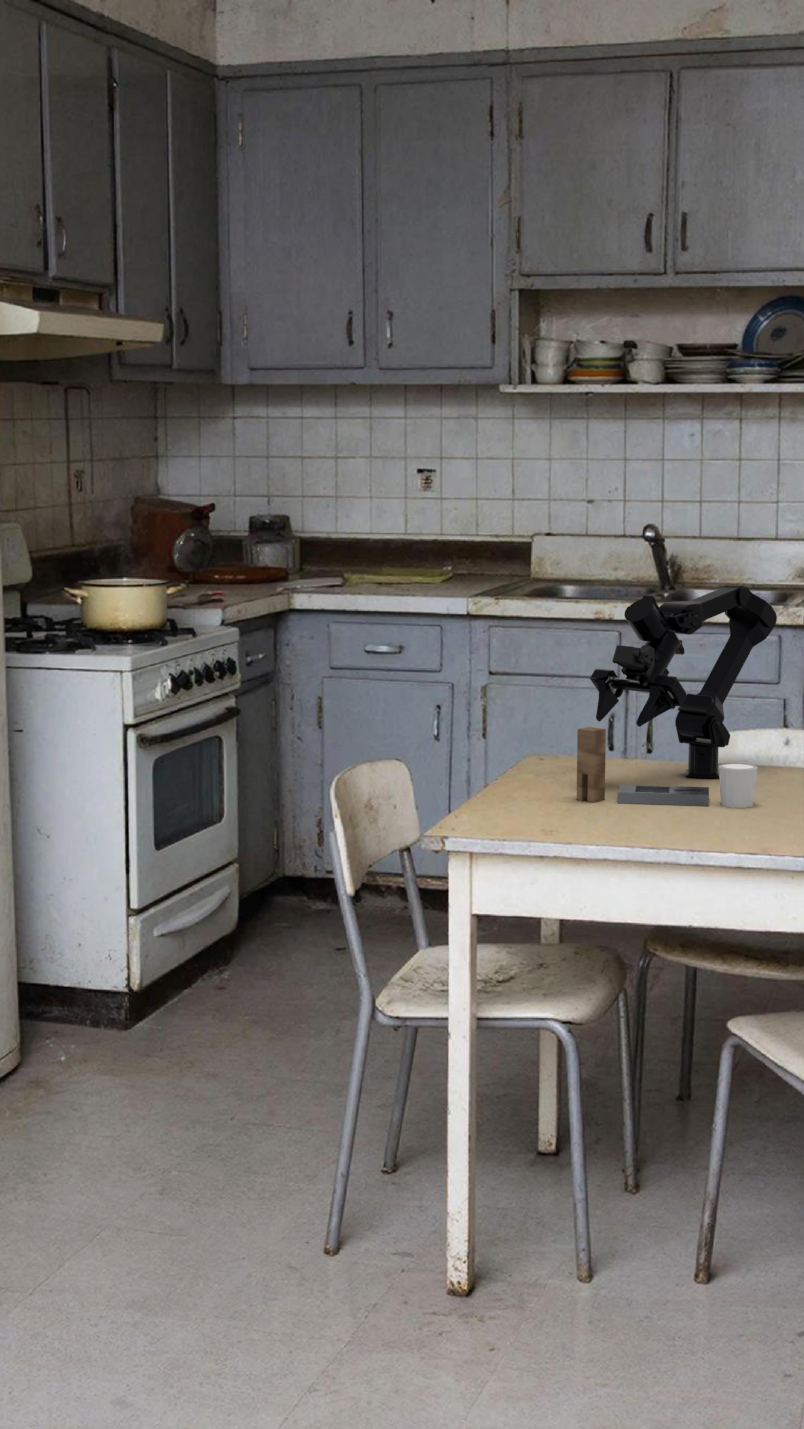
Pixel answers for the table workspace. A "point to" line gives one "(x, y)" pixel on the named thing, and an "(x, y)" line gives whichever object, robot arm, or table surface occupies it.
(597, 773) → the brown block
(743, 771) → the white cup
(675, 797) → the metal plate with hole
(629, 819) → the table surface
